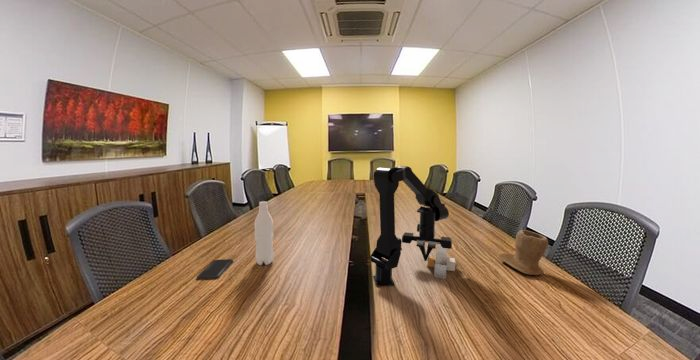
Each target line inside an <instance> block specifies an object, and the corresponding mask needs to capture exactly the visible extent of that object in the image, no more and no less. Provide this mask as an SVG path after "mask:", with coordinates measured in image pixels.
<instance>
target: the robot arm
mask: <svg viewBox="0 0 700 360" xmlns="http://www.w3.org/2000/svg"><path fill="white" fill-rule="evenodd" d="M373 181H374V187H375V189H376V190H377V192H378V194H379V219H380V220H379V221H380V222H379V223H380V234H379V236H378V238H377V240H376V247H375V248H374V250H373V251H372V253H371V254H370V256H369V259H370V262H371V263H373V264H375V275H372V279H373V281H374V284H375V286H377V287H380V286H383V287H385V286H387V287H388V286H395V285H396V283H395V282H394V279H393V269H395V268H397V267H398V266H399V261H400V258H401V253H402V250H403V248H402V243H403V244H411V243H412V242H416V247H418V248H419V249H420V252H421V254H422V257H423V260H424V262H428V256H429V257H430V254H431V252H432V251H433V250H435V249H437V245H440V246H442V248H447V250H448V249H449V250H450V249H451V250H452V246H453V245H452V244H453V242H452V238H451V237H450V236H440V238H435V235H436V234H435V233H436V230H435V229H436V228H435V226H436V222H439V221H443V220H446V219H447V218H449V215H450V213H449V212H450V211H449V209H448V208H447V207H446V206H445V205H446V203H442V201H441V199H440V196H439V194H438V193H437V192H436V191H434V189H431V188H428V186H426V185H425V184H424V183H423V182H422V181H421V179H420V178H419V177H418V176H417V174H415V173H414V172H413V169H412V168H411V167H410V166H405V165H399V166H396V167H380V166H379V167H378V168H376V169H375V170H374V172H373ZM400 182H403V183H404V184H405V185H406V186H407V187H408V188H409V189H410V191H412V192H413V193H414V195H415V199H416V202H417V203H418V204H419V205H421V206H420V207H419V208H418V209H417V210H416V212H417V213H419V223H417V226H416V232H418V234H419V236H417V235H414V233H413V232H406V231H405V232H403V235H402V236H401V238H399V237H397V235H396V223H395V222H396V220H395V219H396V218H395V217H396V215H395V193H396V191H397V189H398V188H399V184H400ZM426 243H427V248H426Z"/></svg>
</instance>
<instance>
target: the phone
mask: <svg viewBox="0 0 700 360" xmlns="http://www.w3.org/2000/svg"><path fill="white" fill-rule="evenodd" d="M233 263H234V259H233V258H232V259H231V258H230V259H229V258H228V259H214V260H213V261H211V262H210V263H209V264H208V265H206V267H205V268H204V269H203V270H202V271H201V272H199V274H197V275H196V280H212V279H213V280H215V279H220V278H221V276H222V275H223V274H224V273H225V272H226V271H227V270H228V269H229V268H230V266H231V265H232V264H233Z"/></svg>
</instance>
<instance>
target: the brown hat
mask: <svg viewBox="0 0 700 360" xmlns="http://www.w3.org/2000/svg"><path fill="white" fill-rule="evenodd" d="M514 245H515V254H514V253H510V252H507V253H506V252H503V253H500V254H498V255H497V258H498V259H499V260H501V261H502V262H504V263H506V265H508V266H510V267H511V268H513V269H515V270H517V271H519V272H521V273H522V274H525V275H531V276H538V275H543V274H544V273H545V272H544V270H543V269H542V268H541V267H540V265H539V263H540V260H541V259H542V257H543V256H544V255H545V252H546V250H547V249H548V246H549V239H548V238H547V237H546V236H544V235H542V234H539V233H536V232H533V231H530V230H527V229H526V230H525V229H520V230H519V231H518V232H517V233H516V236H515V243H514Z"/></svg>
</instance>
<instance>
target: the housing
mask: <svg viewBox="0 0 700 360" xmlns="http://www.w3.org/2000/svg"><path fill="white" fill-rule="evenodd" d="M447 257H448V248H442V246H441V245H436V253H435V267H434V273H433V275H434V279H436V278H437V279H440V280H441V279H442V280H447V270H446V269H447Z"/></svg>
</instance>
